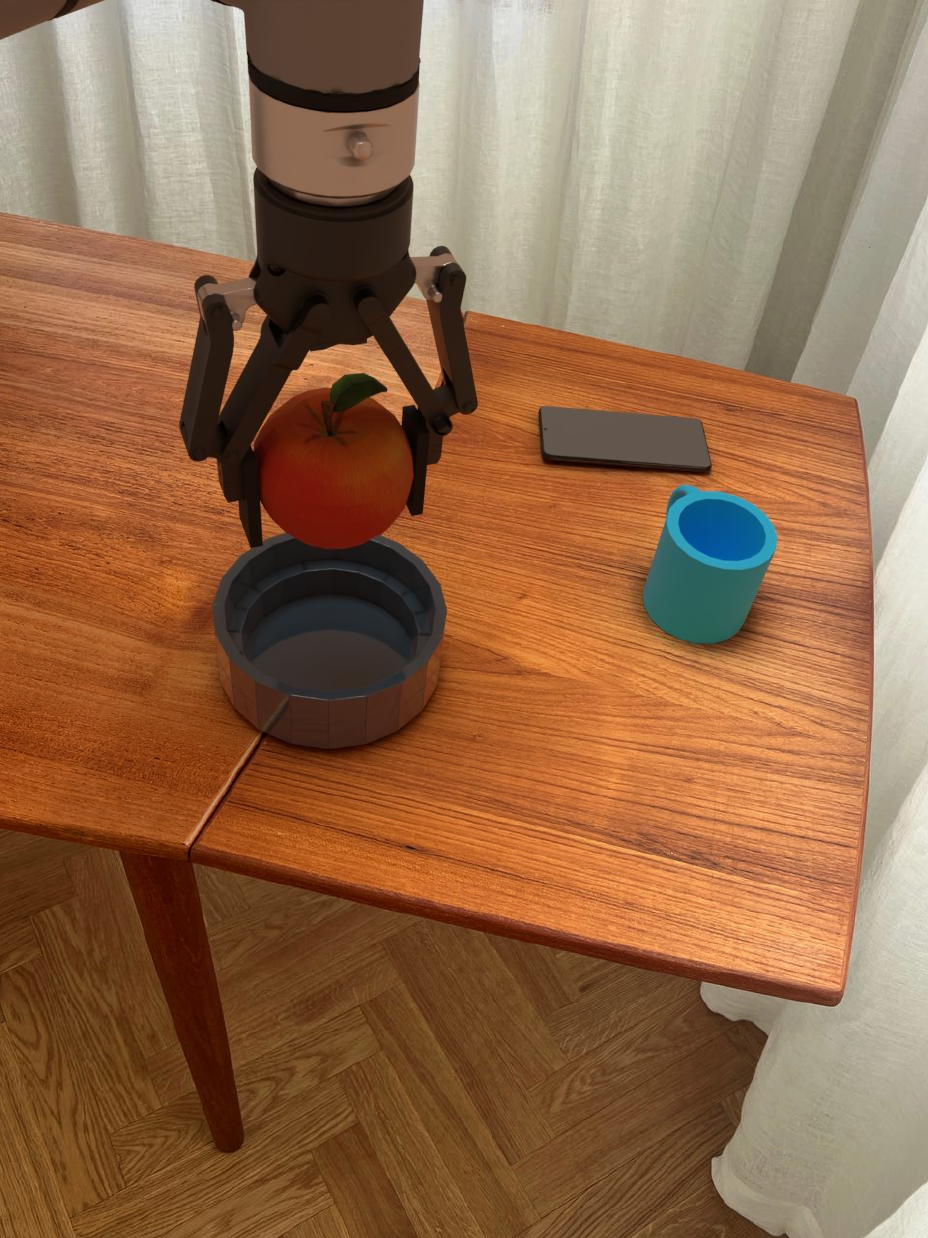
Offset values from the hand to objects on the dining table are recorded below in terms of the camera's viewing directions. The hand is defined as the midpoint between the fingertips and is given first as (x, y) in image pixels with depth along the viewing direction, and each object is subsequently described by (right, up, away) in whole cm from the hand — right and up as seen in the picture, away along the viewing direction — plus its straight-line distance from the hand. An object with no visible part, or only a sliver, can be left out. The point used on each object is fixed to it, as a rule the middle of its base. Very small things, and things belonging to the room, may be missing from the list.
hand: (332, 515), depth 69 cm
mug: (+26, -4, +19) cm, 32 cm away
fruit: (0, 0, 0) cm, 1 cm away
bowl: (-1, -10, +11) cm, 14 cm away
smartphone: (+22, +9, +30) cm, 39 cm away
